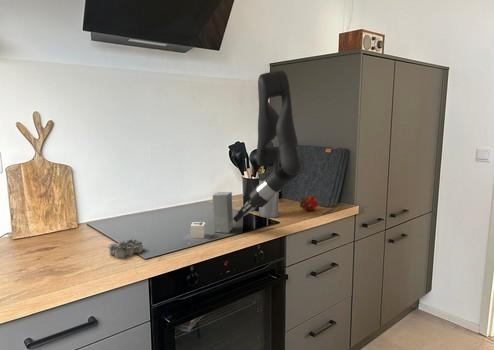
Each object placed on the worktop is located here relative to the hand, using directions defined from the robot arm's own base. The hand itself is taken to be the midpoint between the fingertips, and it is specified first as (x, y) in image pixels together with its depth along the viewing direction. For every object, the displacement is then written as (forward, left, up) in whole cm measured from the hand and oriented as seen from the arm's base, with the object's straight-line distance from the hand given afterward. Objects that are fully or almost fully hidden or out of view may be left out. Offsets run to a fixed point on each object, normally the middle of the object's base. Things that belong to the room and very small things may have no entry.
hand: (235, 220), depth 149 cm
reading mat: (+9, -13, -5) cm, 16 cm away
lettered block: (+9, -13, -5) cm, 16 cm away
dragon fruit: (-43, +29, -5) cm, 52 cm away
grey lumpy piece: (+31, -32, -5) cm, 45 cm away
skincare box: (-1, -5, -5) cm, 8 cm away
